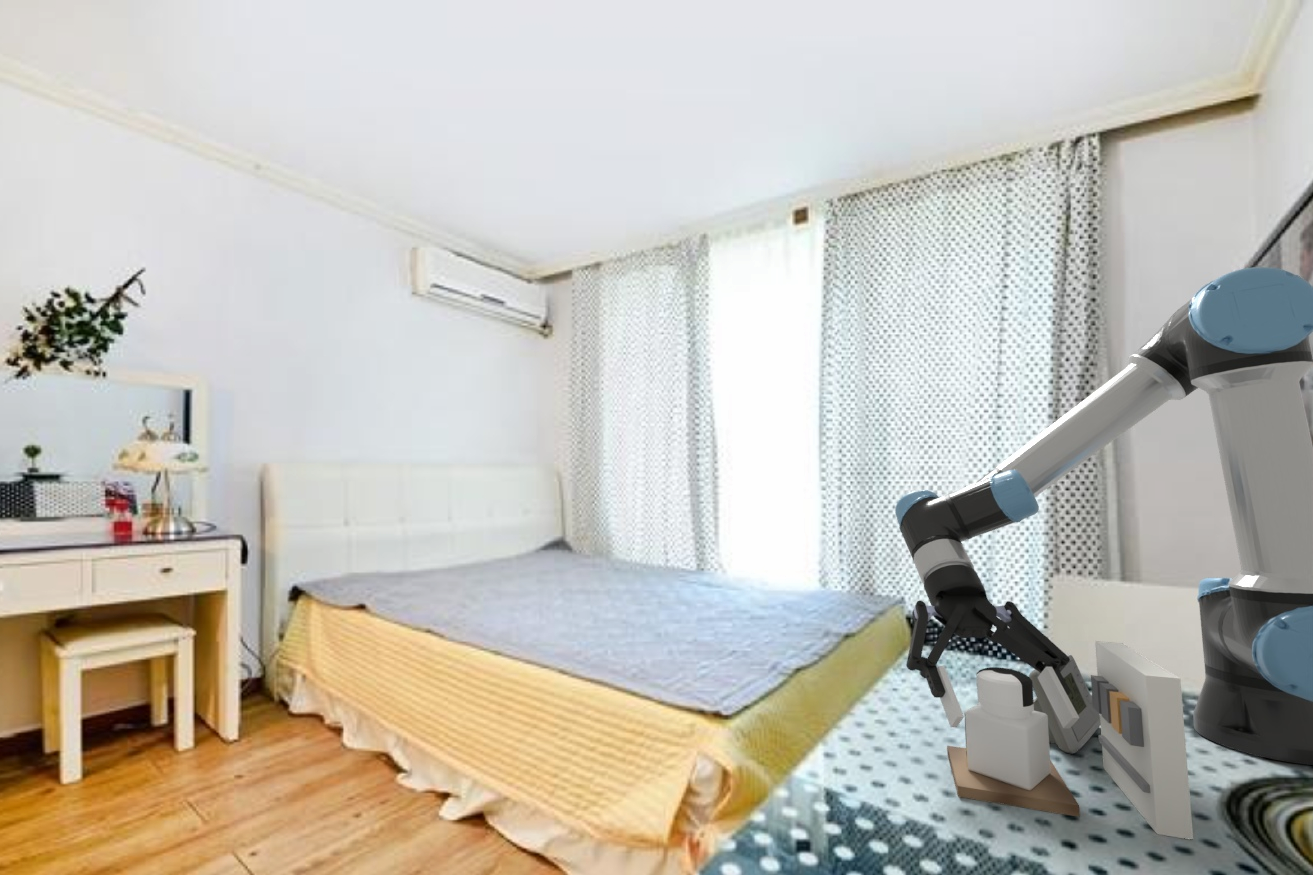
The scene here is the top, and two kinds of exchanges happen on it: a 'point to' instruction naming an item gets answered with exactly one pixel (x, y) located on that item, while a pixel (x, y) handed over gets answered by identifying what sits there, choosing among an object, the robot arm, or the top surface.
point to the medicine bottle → (1007, 730)
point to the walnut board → (1011, 788)
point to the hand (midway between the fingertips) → (1014, 723)
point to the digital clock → (1081, 702)
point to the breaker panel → (1143, 736)
